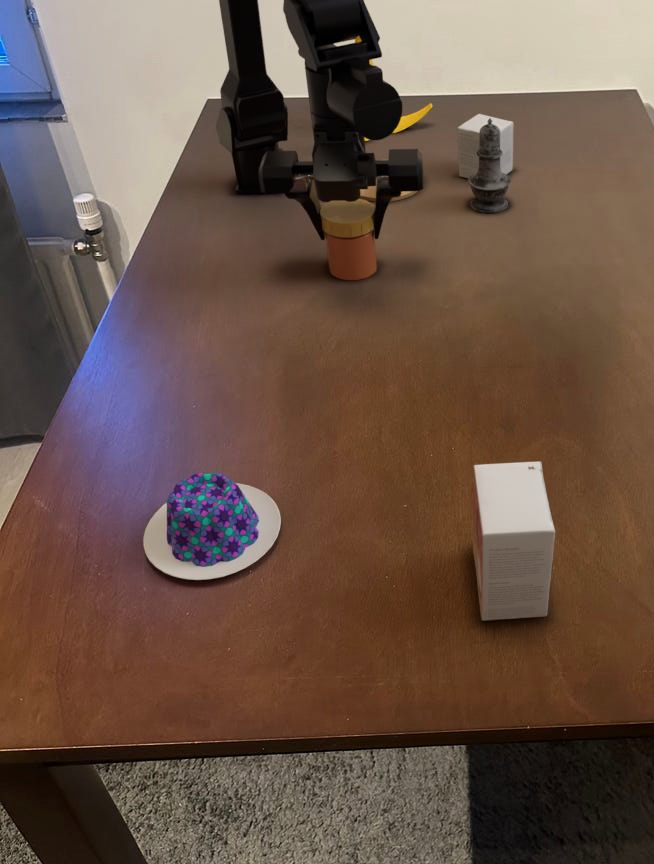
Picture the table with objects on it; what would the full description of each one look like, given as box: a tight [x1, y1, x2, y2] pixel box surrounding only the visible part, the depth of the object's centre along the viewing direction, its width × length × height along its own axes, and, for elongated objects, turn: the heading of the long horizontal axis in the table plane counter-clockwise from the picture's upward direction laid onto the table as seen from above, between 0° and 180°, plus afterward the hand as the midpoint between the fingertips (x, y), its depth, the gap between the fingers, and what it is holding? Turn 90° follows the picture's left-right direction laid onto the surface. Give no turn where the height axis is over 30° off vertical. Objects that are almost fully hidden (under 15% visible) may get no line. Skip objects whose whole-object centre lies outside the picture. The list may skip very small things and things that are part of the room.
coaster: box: [359, 178, 419, 203], centre depth 130 cm, size 11×11×1 cm
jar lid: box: [320, 199, 375, 237], centre depth 108 cm, size 7×7×2 cm
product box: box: [456, 113, 514, 179], centre depth 130 cm, size 6×6×7 cm
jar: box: [325, 229, 378, 281], centre depth 111 cm, size 6×6×7 cm
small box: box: [472, 461, 556, 622], centre depth 72 cm, size 8×6×10 cm
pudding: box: [142, 472, 282, 581], centre depth 78 cm, size 12×12×5 cm
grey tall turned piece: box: [467, 118, 512, 214], centre depth 121 cm, size 6×6×12 cm
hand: (349, 238), depth 110 cm, fingers closed on jar lid, 6 cm apart
